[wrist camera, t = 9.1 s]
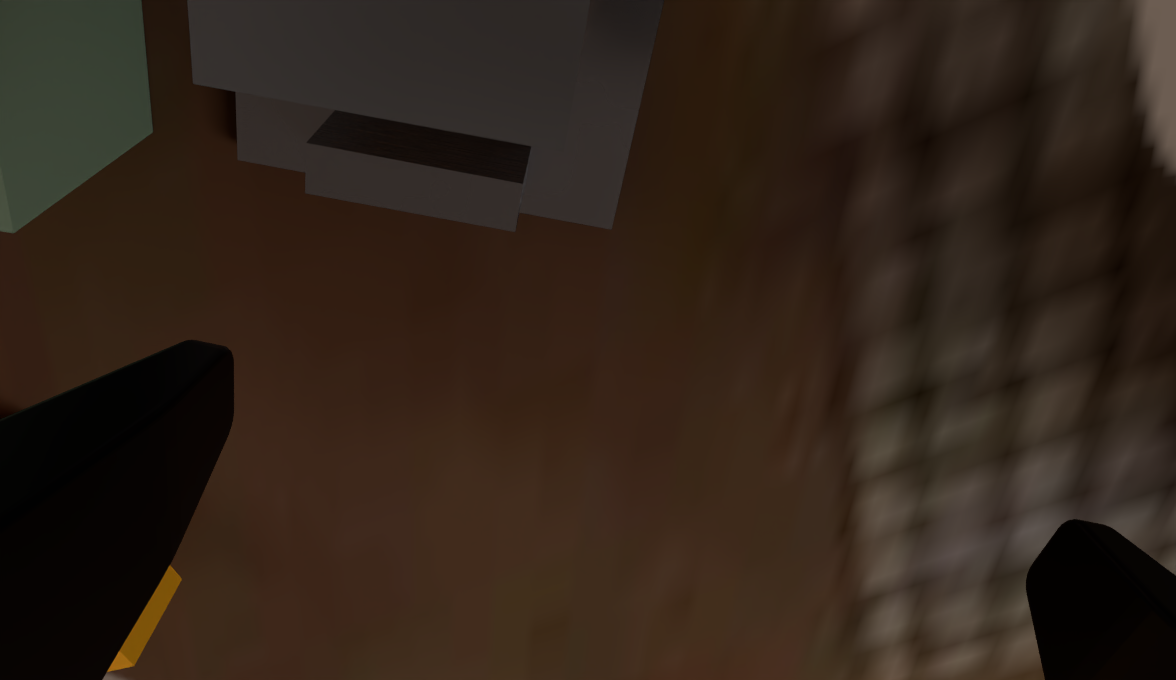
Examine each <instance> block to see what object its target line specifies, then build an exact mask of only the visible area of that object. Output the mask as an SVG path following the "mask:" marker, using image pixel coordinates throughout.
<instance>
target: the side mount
mask: <svg viewBox="0 0 1176 680" xmlns="http://www.w3.org/2000/svg"><path fill="white" fill-rule="evenodd" d="M663 2H664V0H590V5H589V11H588V17H587V22H586V28H585V34H584V39H583V45H582V51H581V56H580V62H579V68H578V74H577V79H576V85H575V91H574V96H573V102H572V108H571V114H570V119H569V125H568V131H567V136H566V142H565V148H564V152H560V151H555V150H549V149H544V148H538V147H533V146H528V145H522V144H517V143H511V142H506V141H500V140H495V139H490V138H484V137H479V136H473V135H468V134H462V133H457V132H452V131H446V130H441V129H435V128H430V127H425V126H419V125H414V124H408V123H403V122H397V121H392V120H387V119H381V118H376V117H370V116H365V115H359V114H354V113H349V112H343V111H338V110H332V109H327V108H321V107H316V106H311V105H305V104H300V103H294V102H289V101H284V100H278V99H273V98H267V97H262V96H256V95H251V94H246V93H240V92H235V94H236V124H237V154H238V160H241V161H246V162H251V163H257V164H262V165H267V166H273V167H278V168H284V169H289V170H294V171H300V172H305V173H306V178H305V193H307V194H312V195H318V196H323V197H328V198H334V199H339V200H345V201H350V202H355V203H361V204H366V205H372V206H377V207H383V208H388V209H393V210H399V211H404V212H410V213H415V214H421V215H426V216H431V217H437V218H442V219H448V220H453V221H459V222H464V223H469V224H475V225H480V226H486V227H491V228H496V229H502V230H507V231H513V232H515V231H516V226H517V222H518V217H519V212H520V213H525V214H530V215H536V216H541V217H546V218H552V219H557V220H562V221H568V222H573V223H579V224H584V225H589V226H595V227H600V228H605V229H611V230H612V226H613V221H614V217H615V212H616V208H617V204H618V199H619V195H620V191H621V186H622V182H623V177H624V173H625V169H626V164H627V160H628V156H629V151H630V147H631V142H632V138H633V134H634V129H635V125H636V121H637V116H638V112H639V107H640V103H641V99H642V94H643V90H644V86H645V81H646V77H647V72H648V68H649V64H650V59H651V55H652V51H653V46H654V42H655V37H656V33H657V29H658V24H659V20H660V16H661V11H662V7H663Z"/></svg>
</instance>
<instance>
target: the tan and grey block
mask: <svg viewBox="0 0 1176 680" xmlns="http://www.w3.org/2000/svg"><path fill="white" fill-rule="evenodd" d="M187 2H188V17H189V31H190V46H191V60H192V75H193V84H197V85H202V86H208V87H213V88H218V89H224V90H229V91H235V92H240V93H246V94H251V95H256V96H262V97H267V98H273V99H278V100H284V101H289V102H294V103H300V104H305V105H311V106H316V107H321V108H327V109H332V110H338V111H343V112H349V113H354V114H359V115H365V116H370V117H376V118H381V119H387V120H392V121H397V122H403V123H408V124H414V125H419V126H425V127H430V128H435V129H441V130H446V131H452V132H457V133H462V134H468V135H473V136H479V137H484V138H490V139H495V140H500V141H506V142H511V143H517V144H522V145H528V146H533V147H538V148H544V149H549V150H555V151H560V152H564V148H565V142H566V136H567V131H568V125H569V119H570V114H571V108H572V102H573V96H574V91H575V85H576V79H577V74H578V68H579V62H580V56H581V51H582V45H583V39H584V34H585V28H586V22H587V17H588V11H589V5H590V0H187Z"/></svg>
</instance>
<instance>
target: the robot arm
mask: <svg viewBox="0 0 1176 680" xmlns="http://www.w3.org/2000/svg"><path fill="white" fill-rule="evenodd" d="M233 416H234V359H233V355H232V352H231V351H230V350H229V349H228V348H227V347H225V346H221V345H216V344H212V343H207V342H202V341H197V340H187V341H184V342H181V343H178V344H176V345H174V346H171V347H169V348H167V349H164V350H162V351H160V352H157V353H155V354H153V355H150V356H148V357H146V358H143V359H141V360H139V361H136V362H134V363H131V364H129V365H127V366H124V367H122V368H120V369H117V370H115V371H113V372H110V373H108V374H106V375H103V376H101V377H99V378H96V379H94V380H92V381H89V382H87V383H85V384H82V385H80V386H78V387H75V388H73V389H70V390H68V391H66V392H63V393H61V394H59V395H56V396H54V397H52V398H49V399H47V400H45V401H42V402H40V403H38V404H35V405H33V406H31V407H28V408H26V409H24V410H21V411H19V412H17V413H14V414H12V415H9V416H7V417H5V418H2V419H0V680H102V679H103V678H104V676H105V674H106V673H107V671H108V669H109V668H110V666H111V664H112V663H113V661H114V659H115V657H116V656H117V654H118V652H119V651H120V649H121V647H122V646H123V644H124V642H125V641H126V639H127V637H128V636H129V634H130V632H131V631H132V629H133V627H134V626H135V624H136V622H137V621H138V619H139V617H140V615H141V614H142V612H143V610H144V609H145V607H146V605H147V604H148V602H149V600H150V599H151V597H152V595H153V594H154V592H155V590H156V589H157V587H158V585H159V584H160V582H161V580H162V578H163V576H164V575H165V573H166V571H167V569H168V567H169V566H170V564H171V562H172V560H173V558H174V556H175V554H176V552H177V550H178V547H179V545H180V543H181V541H182V539H183V537H184V534H185V532H186V530H187V528H188V525H189V523H190V521H191V519H192V516H193V514H194V512H195V510H196V507H197V505H198V503H199V501H200V498H201V496H202V494H203V492H204V489H205V487H206V485H207V483H208V480H209V478H210V476H211V474H212V471H213V469H214V467H215V464H216V462H217V460H218V458H219V455H220V453H221V451H222V449H223V446H224V444H225V442H226V440H227V437H228V435H229V432H230V429H231V426H232V422H233ZM1026 592H1027V597H1028V602H1029V607H1030V611H1031V616H1032V621H1033V625H1034V630H1035V635H1036V640H1037V644H1038V649H1039V654H1040V658H1041V663H1042V668H1043V672H1044V677H1045V680H1176V576H1175V575H1174V574H1173V573H1171V572H1170V571H1169V570H1167V569H1166V568H1165V567H1163V566H1162V565H1161V564H1159V563H1158V562H1157V561H1155V560H1154V559H1153V558H1151V557H1150V556H1149V555H1147V554H1146V553H1145V552H1144V551H1142V550H1141V549H1140V548H1138V547H1137V546H1136V545H1134V544H1133V543H1132V542H1130V541H1129V540H1128V539H1126V538H1125V537H1124V536H1122V535H1121V534H1120V533H1118V532H1117V531H1116V530H1114V529H1113V528H1111V527H1109V526H1106V525H1103V524H1098V523H1093V522H1088V521H1083V520H1078V519H1073V520H1068V521H1066V522H1065V523H1063V524H1062V525H1061V526H1060V527H1059V528H1058V529H1057V531H1056V532H1055V534H1054V535H1053V536H1052V538H1051V539H1050V540H1049V542H1048V543H1047V545H1046V546H1045V547H1044V549H1043V550H1042V551H1041V553H1040V554H1039V556H1038V557H1037V558H1036V560H1035V561H1034V562H1033V564H1032V565H1031V567H1030V569H1029V571H1028V574H1027V579H1026Z"/></svg>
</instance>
